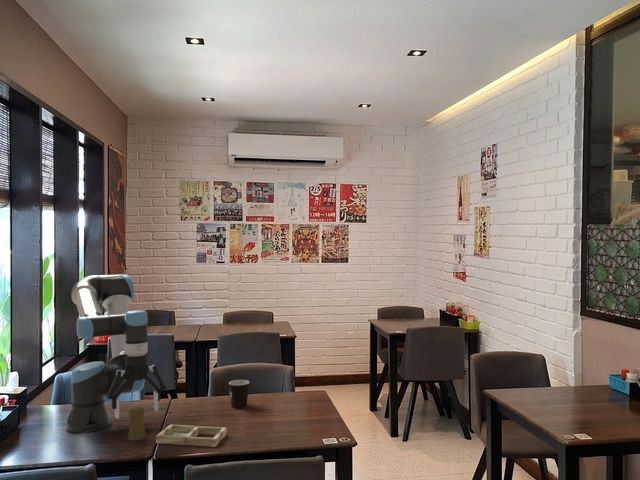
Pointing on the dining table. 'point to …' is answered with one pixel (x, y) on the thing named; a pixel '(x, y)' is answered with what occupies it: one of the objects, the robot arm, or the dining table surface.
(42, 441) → the dining table surface
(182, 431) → the condiment rack
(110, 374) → the robot arm
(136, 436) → the olive condiment shaker
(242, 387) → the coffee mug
